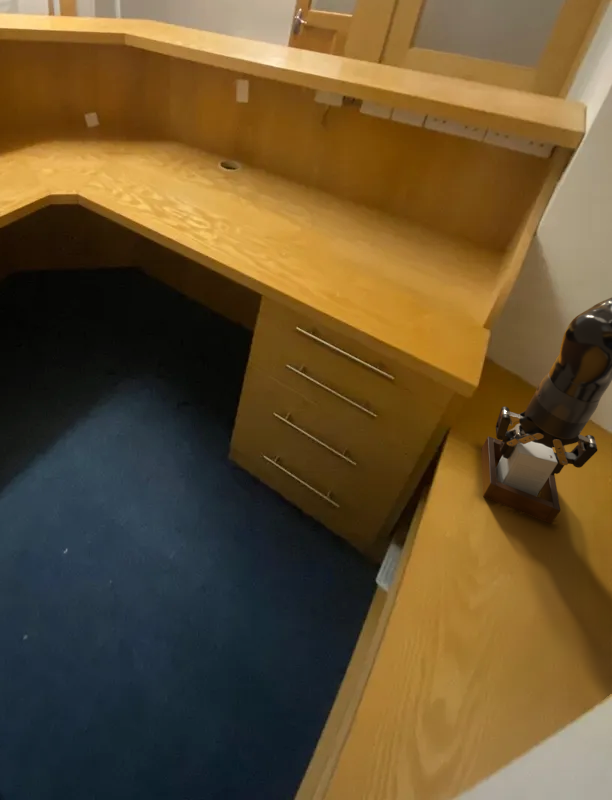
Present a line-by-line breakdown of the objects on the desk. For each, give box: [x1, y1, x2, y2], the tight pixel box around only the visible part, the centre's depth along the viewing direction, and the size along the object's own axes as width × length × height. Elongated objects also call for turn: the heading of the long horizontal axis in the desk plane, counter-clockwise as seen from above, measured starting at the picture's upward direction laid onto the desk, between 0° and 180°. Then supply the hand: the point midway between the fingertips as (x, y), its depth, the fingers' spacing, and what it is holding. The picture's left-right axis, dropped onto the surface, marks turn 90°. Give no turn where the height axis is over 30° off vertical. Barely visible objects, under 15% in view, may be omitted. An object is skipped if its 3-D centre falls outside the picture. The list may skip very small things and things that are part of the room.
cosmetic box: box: [495, 436, 558, 497], centre depth 93 cm, size 6×4×12 cm
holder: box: [480, 435, 561, 524], centre depth 95 cm, size 11×11×6 cm
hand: (526, 462), depth 92 cm, fingers closed on cosmetic box, 6 cm apart
